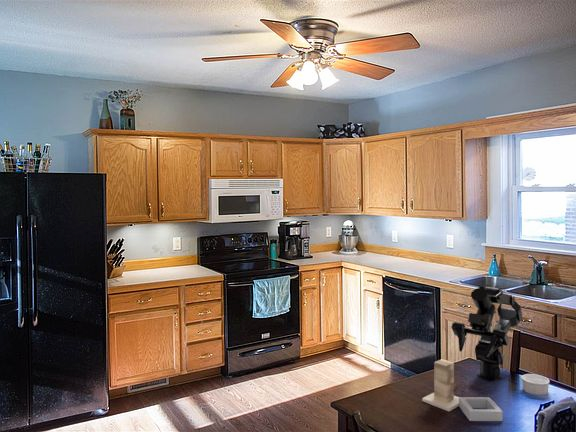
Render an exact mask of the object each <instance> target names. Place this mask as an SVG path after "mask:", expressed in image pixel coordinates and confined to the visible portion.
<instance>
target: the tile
mask: <svg viewBox="0 0 576 432" xmlns="http://www.w3.org/2000/svg"><path fill="white" fill-rule="evenodd" d="M459 397H460V396H456V395H454V399H453V400H451V401H449V402H447V403H444V402H442V401H439V400H437V399H434V392H432V393H430V394H428V395H426V396H424V397H422V400H421V402H424V403H426V404H429V405H432V406H433V407H436V408H438V409H442V410H443V411H447V412H451V411H452V410H453V411H454V409H456V408H458V407H459Z"/></svg>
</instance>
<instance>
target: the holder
mask: <svg viewBox="0 0 576 432" xmlns="http://www.w3.org/2000/svg"><path fill="white" fill-rule="evenodd" d="M458 397H459V406H458V407H459V409H460V410H461V411H462V412H463V414H464V415H465V416H466V418H467V419H468V420H469V421H470V422H503V421H504V420H503V418H504V411H503V410H502V409H501V408H500V407H499V406H498V405H497V404H496V402H495V401H494V400H492V398H490V397H488V396H483V397H482V396H479V397H478V396H475V397H474V396H470V397H469V396H467V397H466V396H462V397H461V396H458Z"/></svg>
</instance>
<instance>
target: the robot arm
mask: <svg viewBox="0 0 576 432" xmlns="http://www.w3.org/2000/svg"><path fill="white" fill-rule="evenodd" d="M470 296H471V299H472V302H473V303H474V305H475V308H477V310H476V313H472V312H469V315H468V320H467V323H469V325H470V327H471V328H470V327H466V325H465V323H464V322H457V321H454V322H453V323H452V324H451V326H450V327H451V330H452V332H453V333H454V334H453V335H455V336H456V337H457V339H458V351H459V352H460V353H461V352H462V351H463V348H464V347H465V344H466V343H465V342H466V340H467V338H466V336H467V334H469V335H473V336H480V339H479V340H478V343H476V345H475V348H474V354H475V360H476V361H480V363H479V365H480V372H479V373H477V374H476V375H477V376H478V377H479V378H482V379H483V380H486V381H488V382H493V381H498V380H502V379H503V377H502V376H501V374H500V373H501V368H500V365H501V366H503V365H504V360H505V359H504V358H505V356H504V354H503V352H502V350H501V347H502V348H503V347H504V346H508V345H509V341H510V339H509V336H508V332H509V331H510V329H511V328H513V327H516V326H518V325H519V324H520V322H522V319H523V312H522V307H521V305H519V304H518V302H517V301H516V298H515V296H514V295H513V294H507V293H504V291H503V289H501V288H497V287H489V286H485V285H478V288H475V289H473V290H472V291H471V293H470ZM495 304H497V305H498V307H497V308H496V306H495ZM502 305H508V306H509V305H510V306H511V307H506V306H502ZM496 310H497V311H496ZM496 313H497V315H498V321H497V323H496V324H495V326H494V328H493V329H492V331H490V330H491V327H492V326H493V319H494V316H495V314H496Z"/></svg>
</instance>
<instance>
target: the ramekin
mask: <svg viewBox="0 0 576 432" xmlns="http://www.w3.org/2000/svg"><path fill="white" fill-rule="evenodd" d="M520 378H521V383H522V384H521V385H522V389H523V391H525V392H527V393H529V394H530V395H532V394H533V395H537V396H539V395H540V396H544V395H546V394H548V393H549V386H550V379H549V378H548V377H546V376H543V375H540V374H534V373H526V374H523V375H521V376H520Z"/></svg>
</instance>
